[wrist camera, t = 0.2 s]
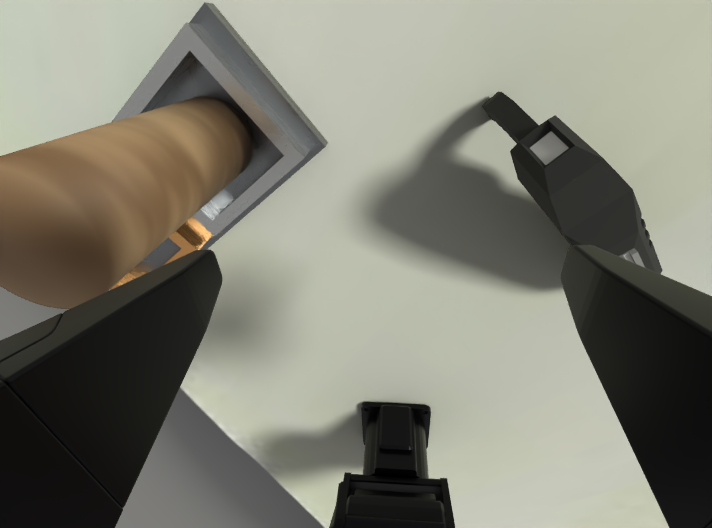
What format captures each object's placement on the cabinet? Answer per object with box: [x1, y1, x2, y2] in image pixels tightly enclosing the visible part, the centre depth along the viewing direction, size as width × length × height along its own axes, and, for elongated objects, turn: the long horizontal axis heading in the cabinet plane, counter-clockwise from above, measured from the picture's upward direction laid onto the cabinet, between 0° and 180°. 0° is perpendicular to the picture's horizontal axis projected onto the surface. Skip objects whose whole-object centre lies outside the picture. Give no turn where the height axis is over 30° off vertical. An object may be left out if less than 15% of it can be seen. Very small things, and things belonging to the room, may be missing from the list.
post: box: [0, 96, 253, 309], centre depth 16 cm, size 5×5×13 cm
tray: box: [111, 3, 328, 290], centre depth 23 cm, size 20×9×2 cm, turn 130°
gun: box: [482, 92, 662, 274], centre depth 20 cm, size 3×16×10 cm, turn 46°
